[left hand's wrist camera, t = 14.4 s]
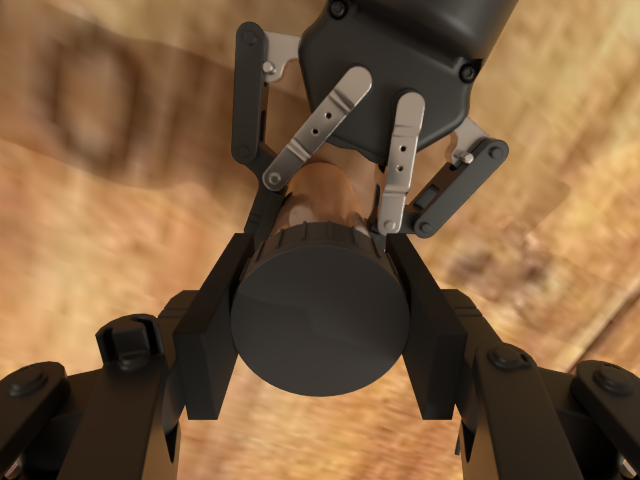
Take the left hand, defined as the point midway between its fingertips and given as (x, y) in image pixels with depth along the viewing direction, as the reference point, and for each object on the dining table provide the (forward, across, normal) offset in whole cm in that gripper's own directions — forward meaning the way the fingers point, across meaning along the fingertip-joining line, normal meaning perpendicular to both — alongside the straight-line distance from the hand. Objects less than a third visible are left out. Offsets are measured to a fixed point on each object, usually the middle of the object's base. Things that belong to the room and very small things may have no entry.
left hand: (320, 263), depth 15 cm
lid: (-4, 0, 0) cm, 4 cm away
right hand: (+5, -1, -2) cm, 6 cm away
